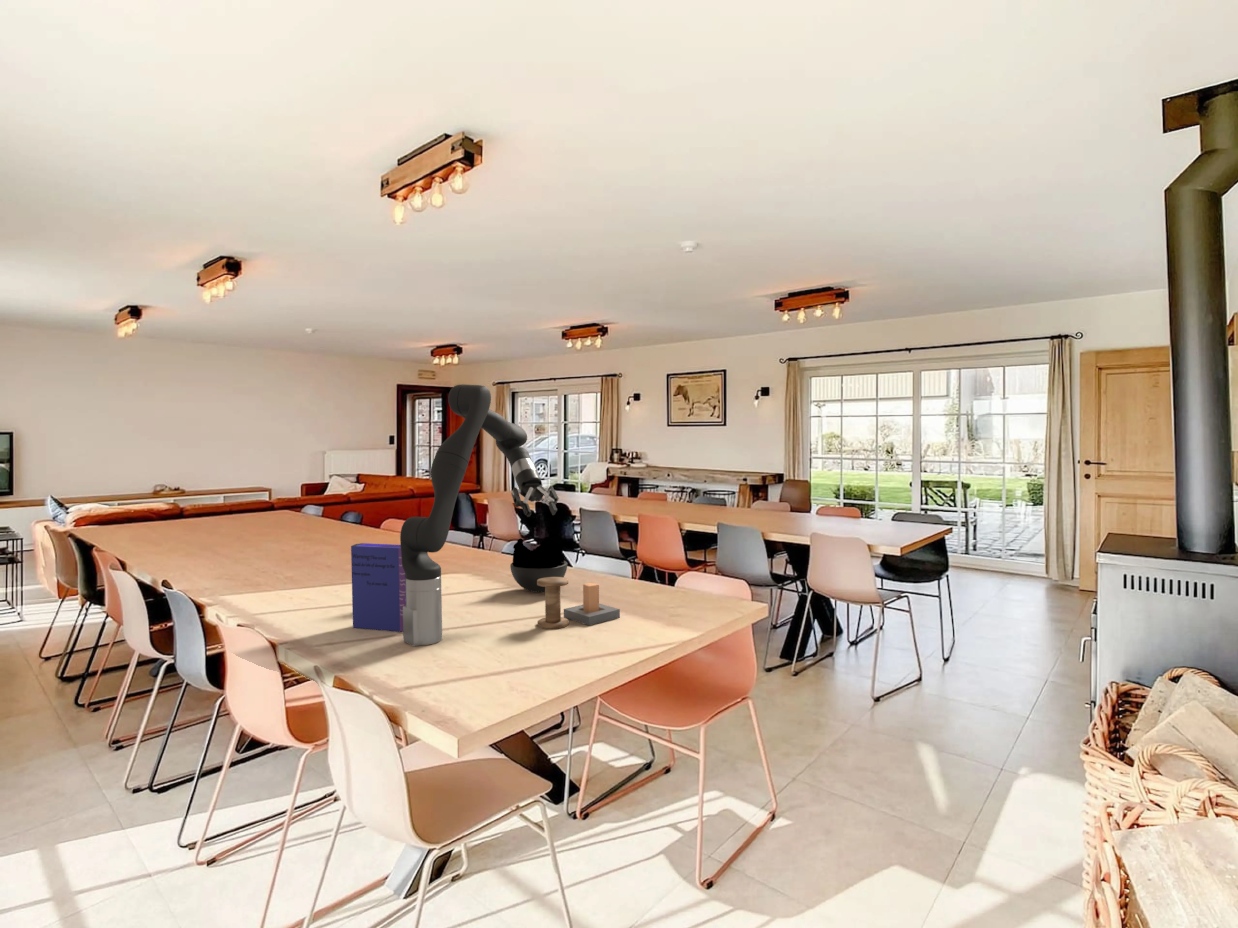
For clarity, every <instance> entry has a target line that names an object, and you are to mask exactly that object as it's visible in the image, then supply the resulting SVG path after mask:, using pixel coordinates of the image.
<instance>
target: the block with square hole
mask: <svg viewBox="0 0 1238 928" xmlns="http://www.w3.org/2000/svg"><path fill="white" fill-rule="evenodd" d="M620 615H621V609H620V608H616V607H613V606H609V605H606V604H603V603H599V611H596V612H592V613H589V612H586V611H583V604H579V605H576V606H571V607H567V608H563V618H566V619H568V620H570V621H574V622H578V623H580V624H584V625H587V626H592V625H596V624H600V623H603V622H604V623H605V622H608V621H611V620H612V621H613V620H615V619H619V618H620V617H621V616H620Z"/></svg>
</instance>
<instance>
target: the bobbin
mask: <svg viewBox="0 0 1238 928" xmlns="http://www.w3.org/2000/svg"><path fill="white" fill-rule="evenodd" d="M537 585H538V586H542V587H545V592H544V603H545V604H544V605H545V606H544V607H545V608H544V609H545V610H544V611H545V612H544V614H545V615H544V617H543V618H540V619H538V620H537V627H538V628H539V629H543V630H544V629H546V630H557V629H563V628H566V627H568V626H569V625H570V624H569V620H570V619H568V618H565V617H564V616H563V617H561V616H562V615H561V614H562V613H561V608H562V607H561V606H562V605H561V587H564V586H568V585H569V579H568V578H566V577H564V578H563V577H545V578H541V579H538V580H537Z"/></svg>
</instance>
